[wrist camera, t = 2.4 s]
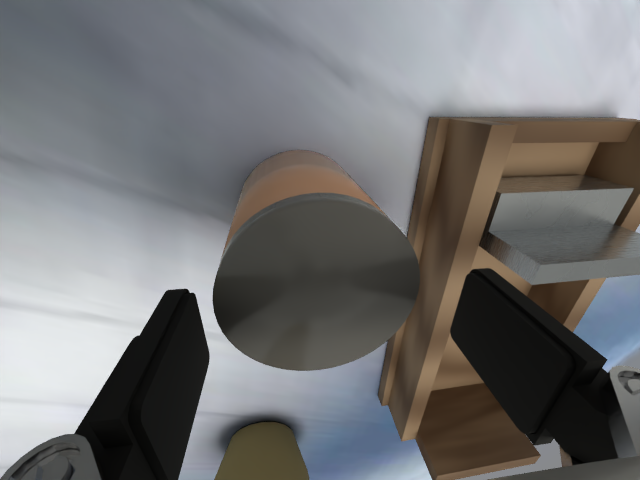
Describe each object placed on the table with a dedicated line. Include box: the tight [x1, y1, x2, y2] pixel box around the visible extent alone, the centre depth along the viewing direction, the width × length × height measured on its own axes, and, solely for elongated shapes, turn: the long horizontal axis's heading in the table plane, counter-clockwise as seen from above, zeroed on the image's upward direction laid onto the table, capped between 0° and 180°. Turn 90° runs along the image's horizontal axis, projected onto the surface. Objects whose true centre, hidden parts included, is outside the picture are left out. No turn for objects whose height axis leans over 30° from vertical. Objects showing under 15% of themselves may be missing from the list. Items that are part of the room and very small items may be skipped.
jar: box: [213, 150, 420, 371], centre depth 13 cm, size 7×7×8 cm
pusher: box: [479, 175, 640, 285], centre depth 14 cm, size 3×8×6 cm, turn 89°
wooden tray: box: [378, 117, 640, 480], centre depth 18 cm, size 24×12×7 cm, turn 179°
